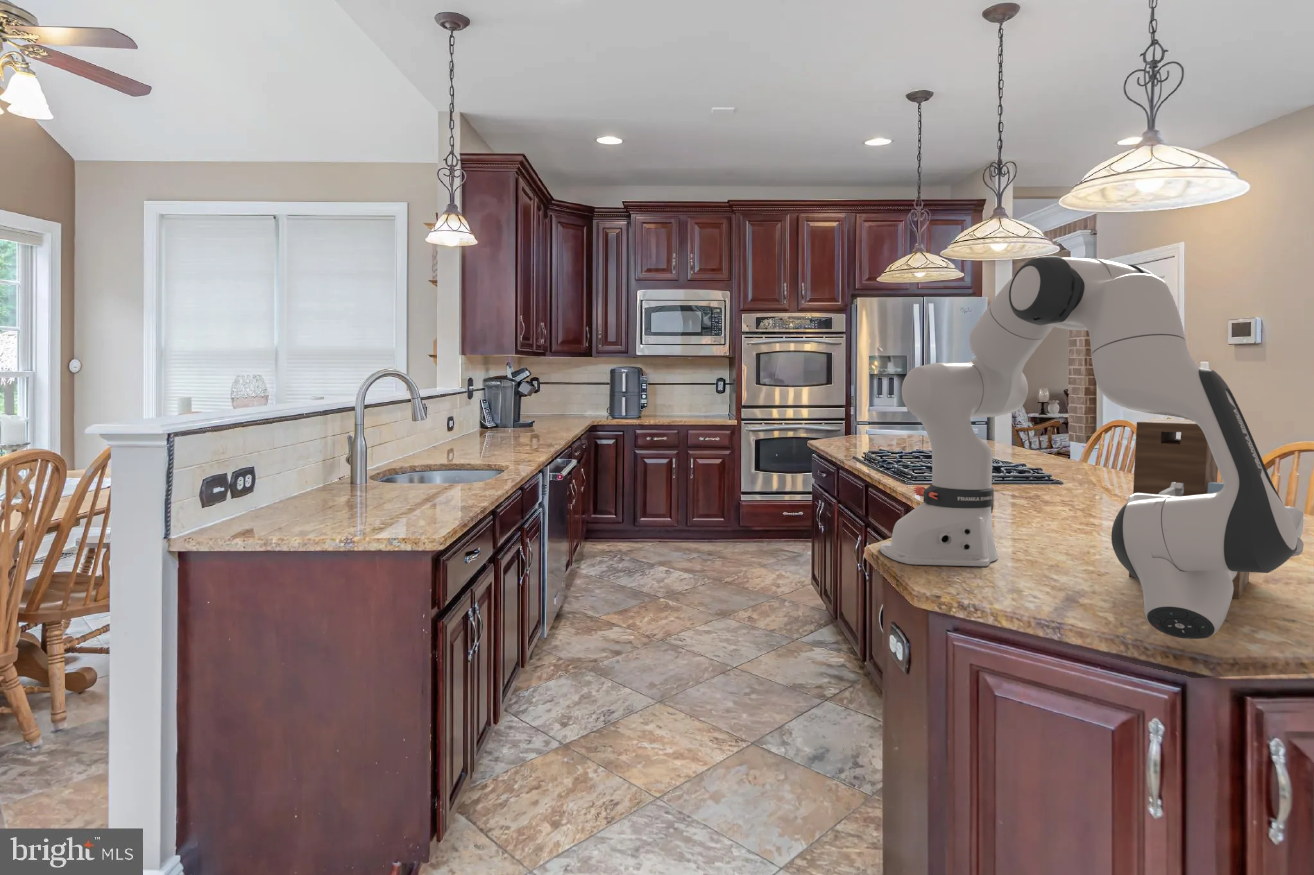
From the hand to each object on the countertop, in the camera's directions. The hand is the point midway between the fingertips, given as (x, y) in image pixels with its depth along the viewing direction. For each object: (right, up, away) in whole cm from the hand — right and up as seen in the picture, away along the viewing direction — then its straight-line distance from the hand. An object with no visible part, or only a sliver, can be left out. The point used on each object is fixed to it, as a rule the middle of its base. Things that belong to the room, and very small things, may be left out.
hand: (1216, 489), depth 105 cm
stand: (+9, -17, +18) cm, 27 cm away
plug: (+12, -3, +12) cm, 17 cm away
